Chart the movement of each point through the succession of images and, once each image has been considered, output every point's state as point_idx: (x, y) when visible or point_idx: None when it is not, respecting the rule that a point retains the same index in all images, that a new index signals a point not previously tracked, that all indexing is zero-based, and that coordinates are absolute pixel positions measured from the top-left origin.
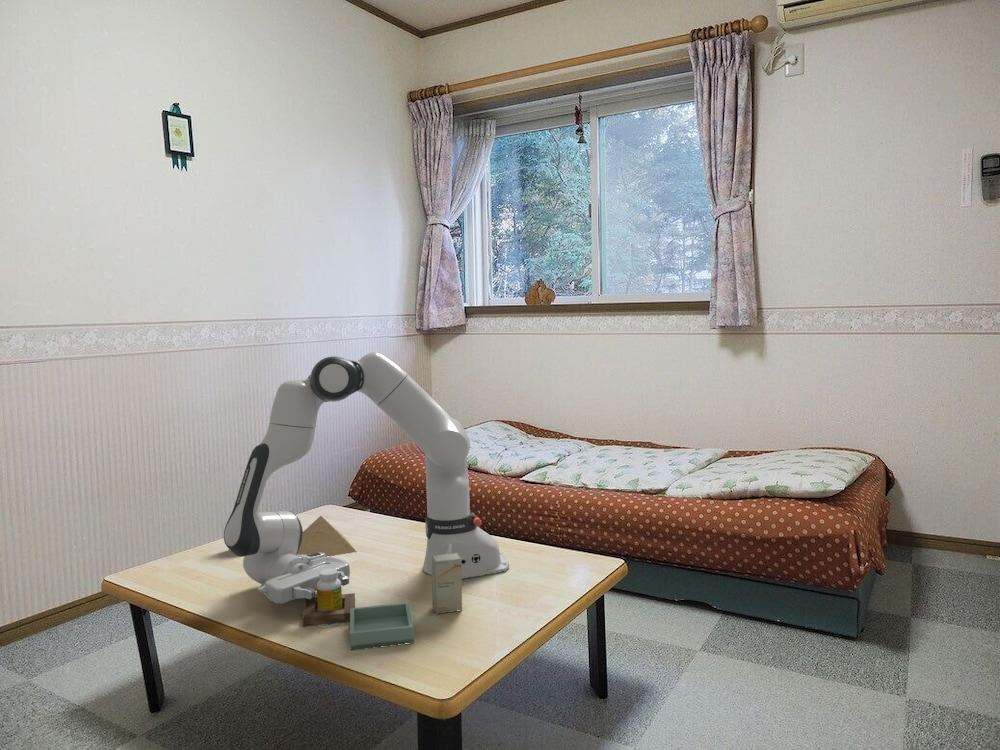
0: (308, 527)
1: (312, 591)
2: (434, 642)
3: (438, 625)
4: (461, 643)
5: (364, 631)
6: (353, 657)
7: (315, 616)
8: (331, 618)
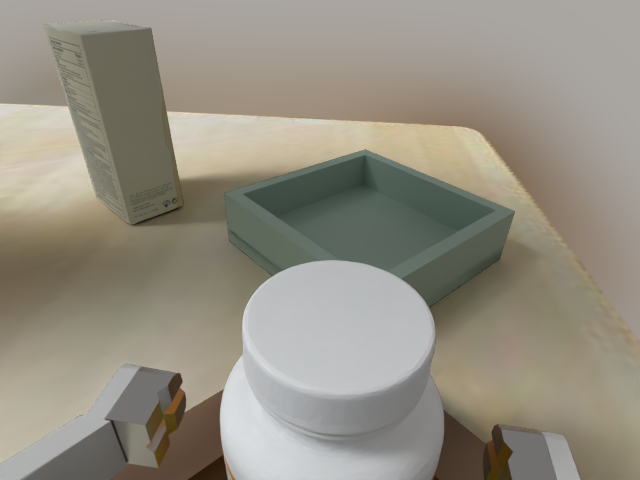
0: None
1: (526, 430)
2: None
3: None
4: (309, 150)
5: (471, 196)
6: (515, 240)
7: None
8: None
